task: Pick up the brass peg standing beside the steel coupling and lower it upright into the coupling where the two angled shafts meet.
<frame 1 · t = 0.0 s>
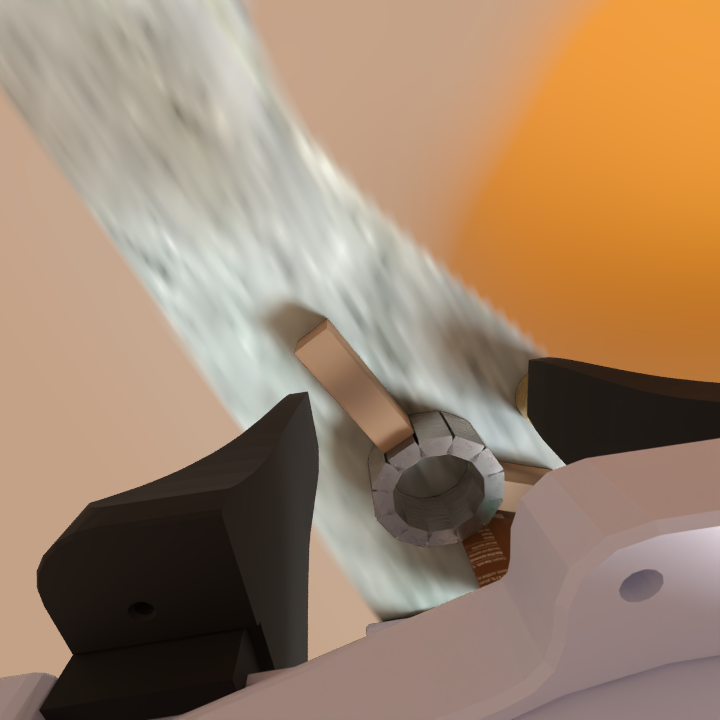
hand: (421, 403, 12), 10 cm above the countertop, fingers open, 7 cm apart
food container: (511, 539, 28), on the countertop
peg: (546, 393, 24), on the countertop
coupling: (427, 464, 25), on the countertop
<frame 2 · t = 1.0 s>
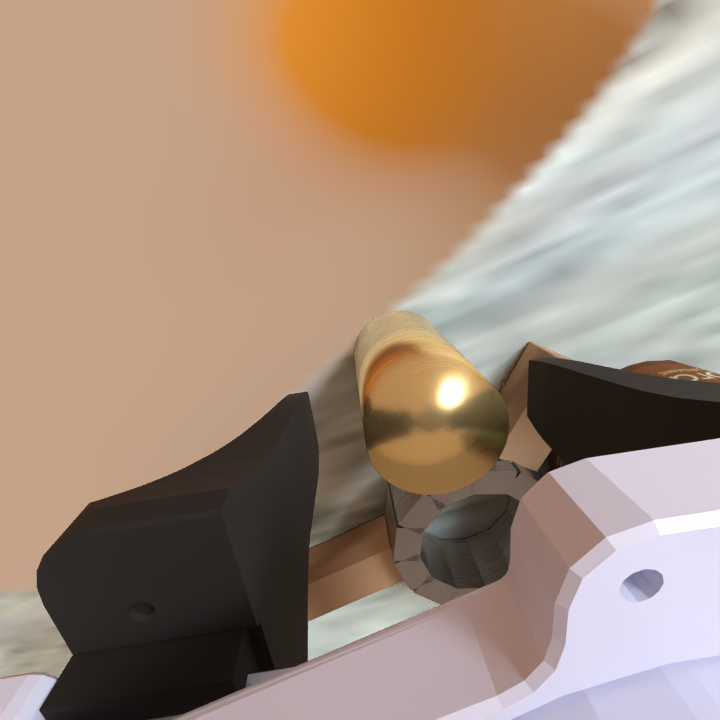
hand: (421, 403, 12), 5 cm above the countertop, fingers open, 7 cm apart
food container: (630, 397, 18), on the countertop
peg: (397, 354, 17), on the countertop
coupling: (459, 498, 20), on the countertop
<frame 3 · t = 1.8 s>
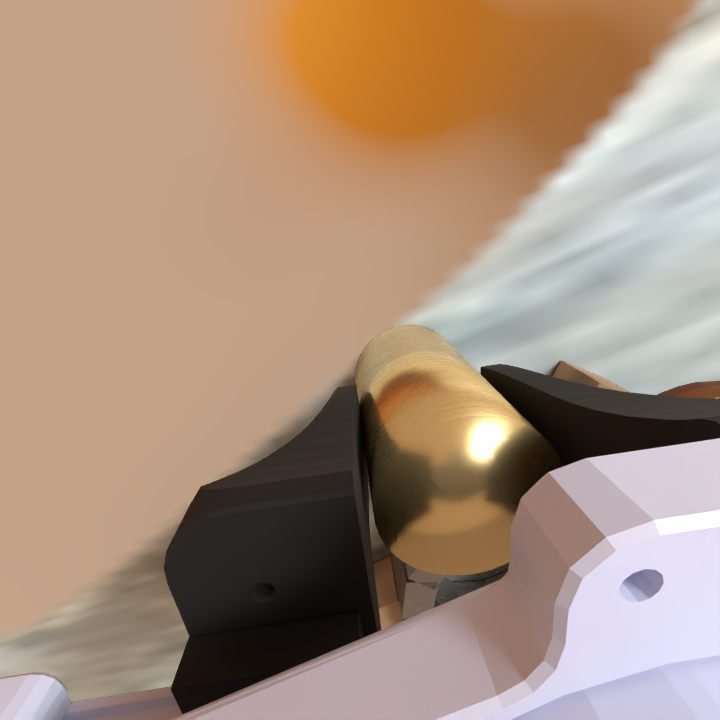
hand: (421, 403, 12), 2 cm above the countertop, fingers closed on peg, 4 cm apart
food container: (674, 422, 16), on the countertop
peg: (407, 375, 14), on the countertop, touching gripper
coupling: (476, 537, 17), on the countertop
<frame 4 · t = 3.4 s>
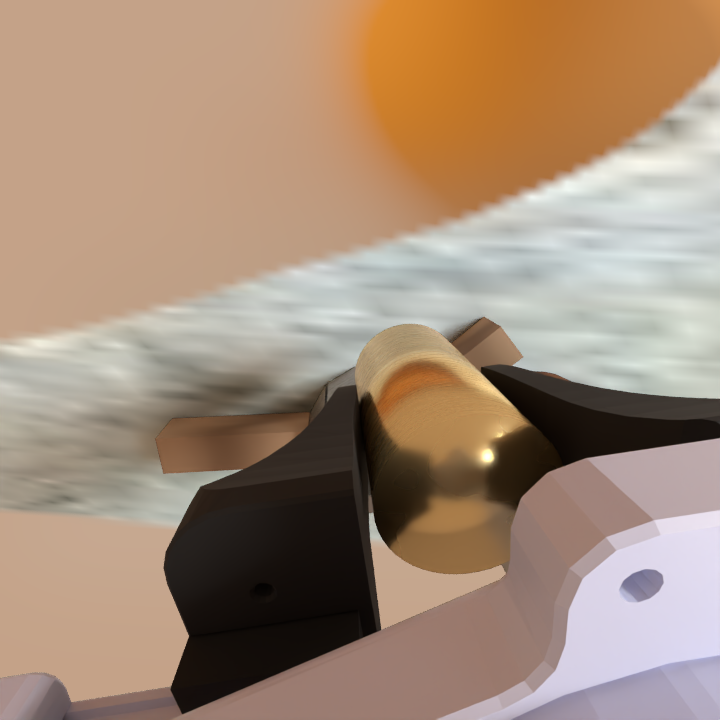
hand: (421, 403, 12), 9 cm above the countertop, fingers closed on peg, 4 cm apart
peg: (406, 374, 14), point 7 cm above the countertop, touching gripper
coupling: (375, 425, 23), on the countertop
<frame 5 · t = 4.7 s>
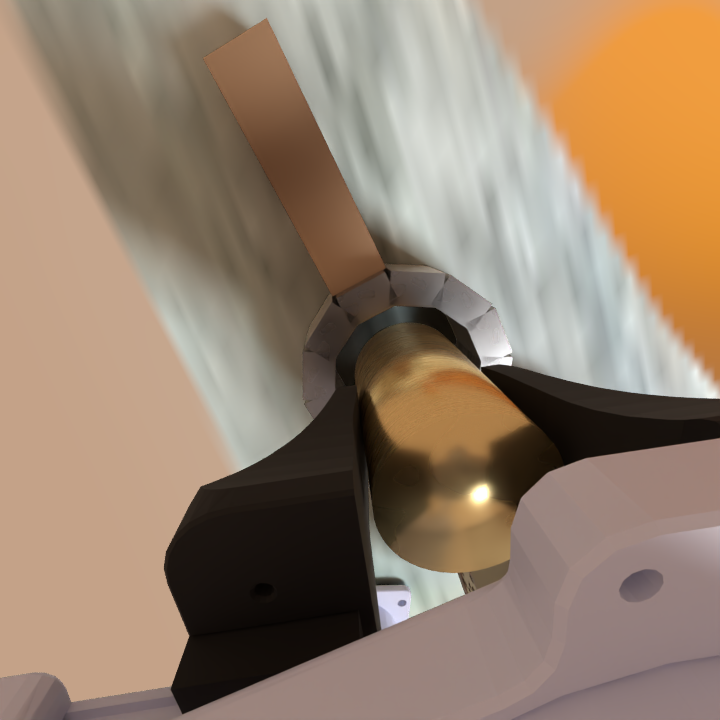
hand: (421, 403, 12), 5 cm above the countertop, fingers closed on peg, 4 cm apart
food container: (491, 493, 20), on the countertop
peg: (406, 373, 14), point 3 cm above the countertop, touching gripper
coupling: (395, 353, 17), on the countertop
when the fingers open (4 cm above the countertop, at t = 5.3 s): peg drops 2 cm, resting in coupling.
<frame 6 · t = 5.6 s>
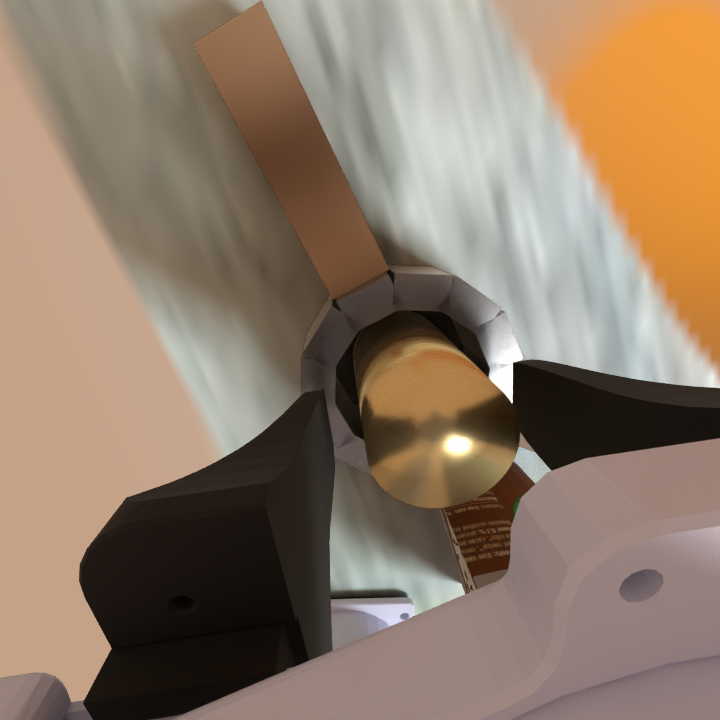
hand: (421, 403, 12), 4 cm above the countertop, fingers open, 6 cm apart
food container: (497, 503, 19), on the countertop
peg: (398, 356, 16), resting in coupling
coupling: (398, 358, 16), on the countertop
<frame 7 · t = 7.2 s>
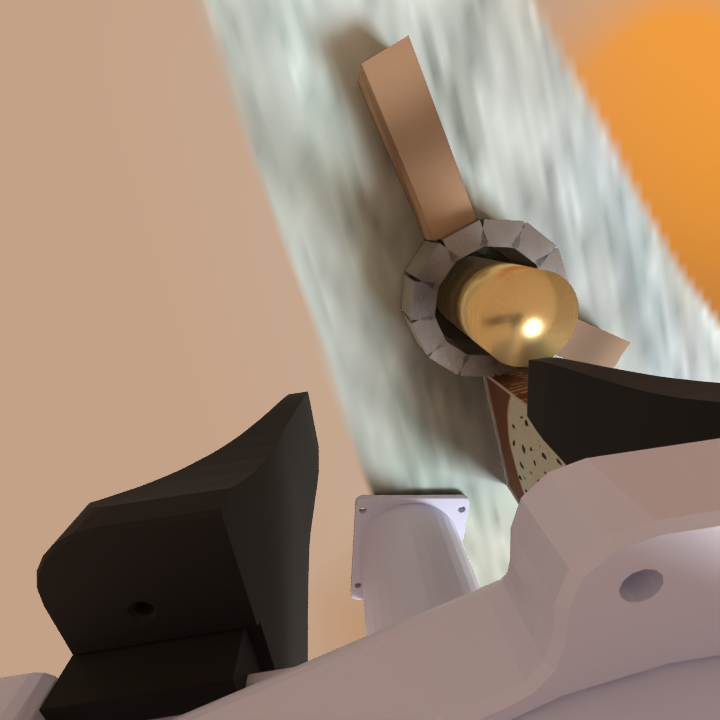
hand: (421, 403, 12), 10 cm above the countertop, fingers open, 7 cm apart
food container: (537, 416, 25), on the countertop
peg: (469, 292, 21), resting in coupling
coupling: (469, 293, 21), on the countertop
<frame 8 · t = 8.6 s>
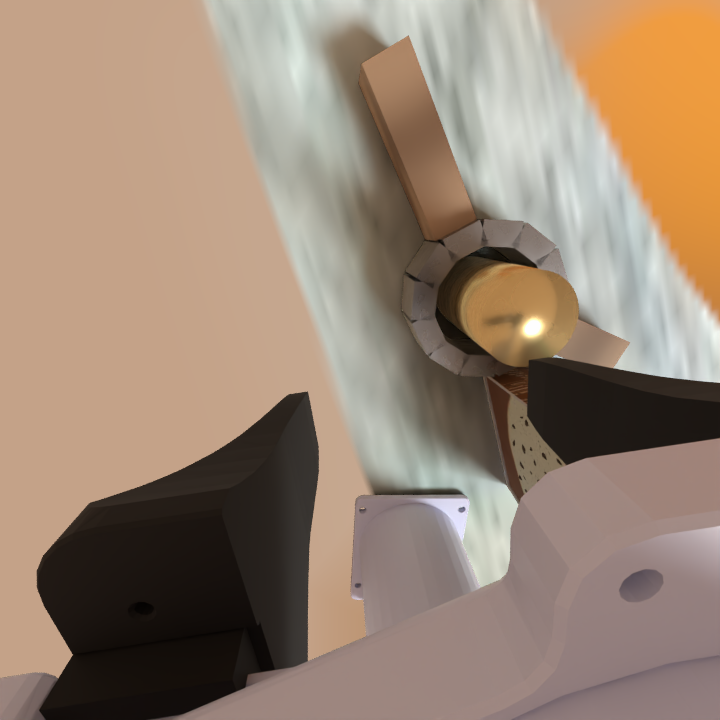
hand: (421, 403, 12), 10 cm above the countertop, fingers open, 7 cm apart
food container: (537, 416, 25), on the countertop
peg: (469, 292, 21), resting in coupling
coupling: (469, 293, 21), on the countertop
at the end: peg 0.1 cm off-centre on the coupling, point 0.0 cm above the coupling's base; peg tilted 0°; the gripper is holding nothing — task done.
